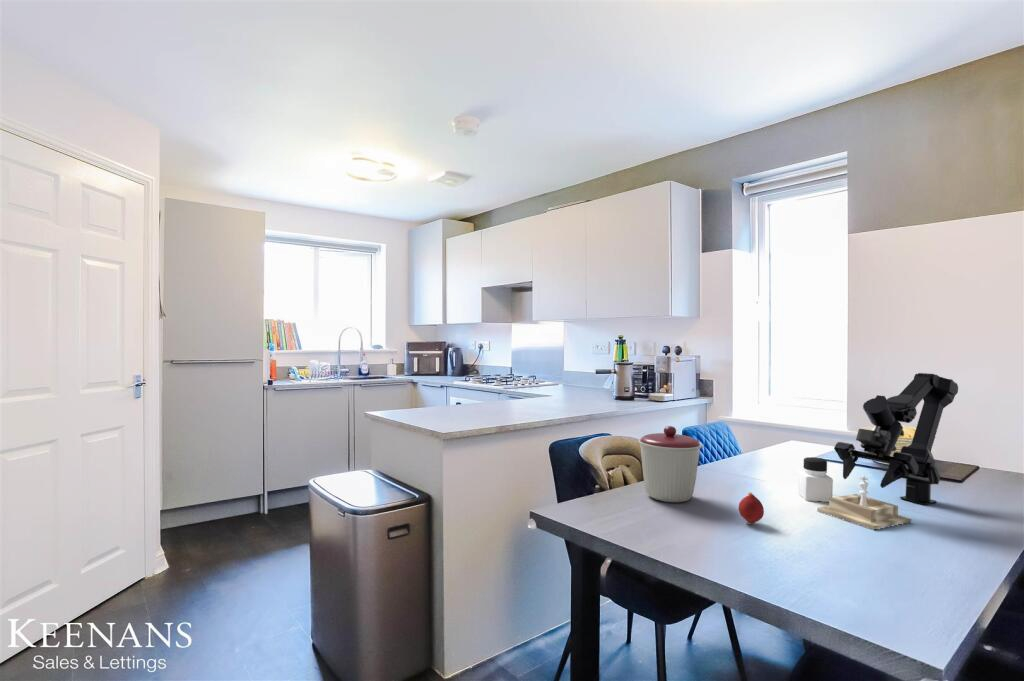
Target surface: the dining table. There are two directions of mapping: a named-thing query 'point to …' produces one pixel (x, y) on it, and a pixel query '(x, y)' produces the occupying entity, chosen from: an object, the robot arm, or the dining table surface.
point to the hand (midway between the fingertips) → (862, 482)
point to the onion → (751, 508)
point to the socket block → (864, 511)
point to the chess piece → (863, 491)
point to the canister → (669, 465)
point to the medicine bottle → (815, 480)
